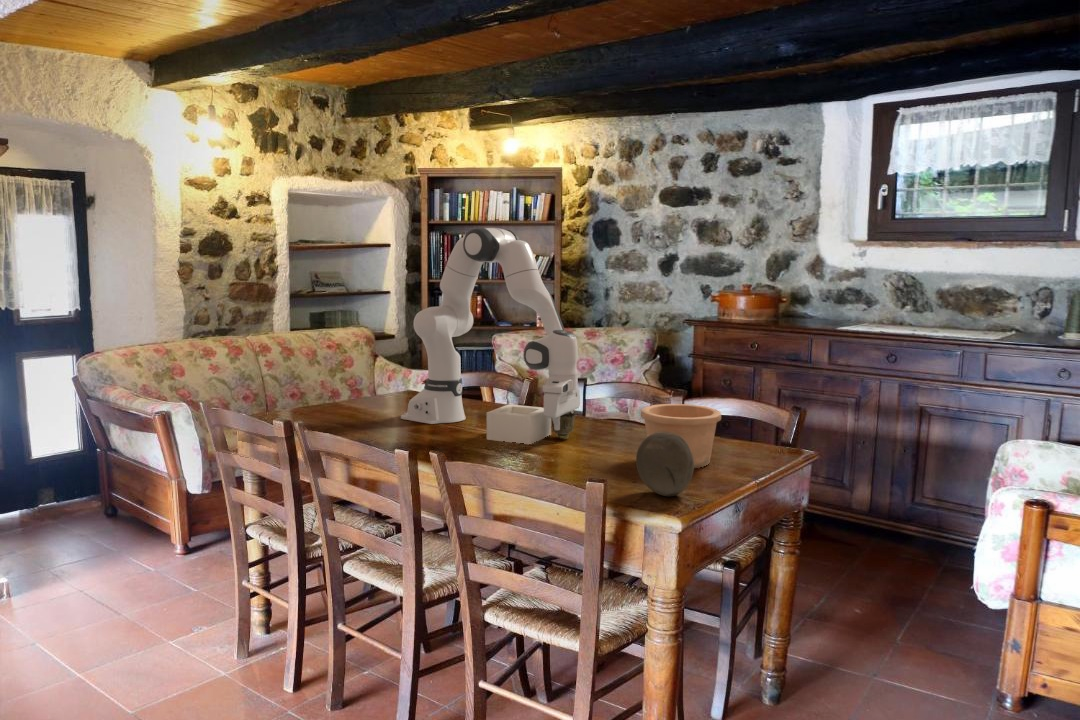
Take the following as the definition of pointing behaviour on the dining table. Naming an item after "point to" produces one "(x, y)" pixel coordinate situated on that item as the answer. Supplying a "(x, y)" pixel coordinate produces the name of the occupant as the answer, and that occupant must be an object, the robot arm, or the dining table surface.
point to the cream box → (518, 424)
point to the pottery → (685, 426)
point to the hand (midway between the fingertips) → (562, 427)
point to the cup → (565, 426)
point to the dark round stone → (665, 463)
